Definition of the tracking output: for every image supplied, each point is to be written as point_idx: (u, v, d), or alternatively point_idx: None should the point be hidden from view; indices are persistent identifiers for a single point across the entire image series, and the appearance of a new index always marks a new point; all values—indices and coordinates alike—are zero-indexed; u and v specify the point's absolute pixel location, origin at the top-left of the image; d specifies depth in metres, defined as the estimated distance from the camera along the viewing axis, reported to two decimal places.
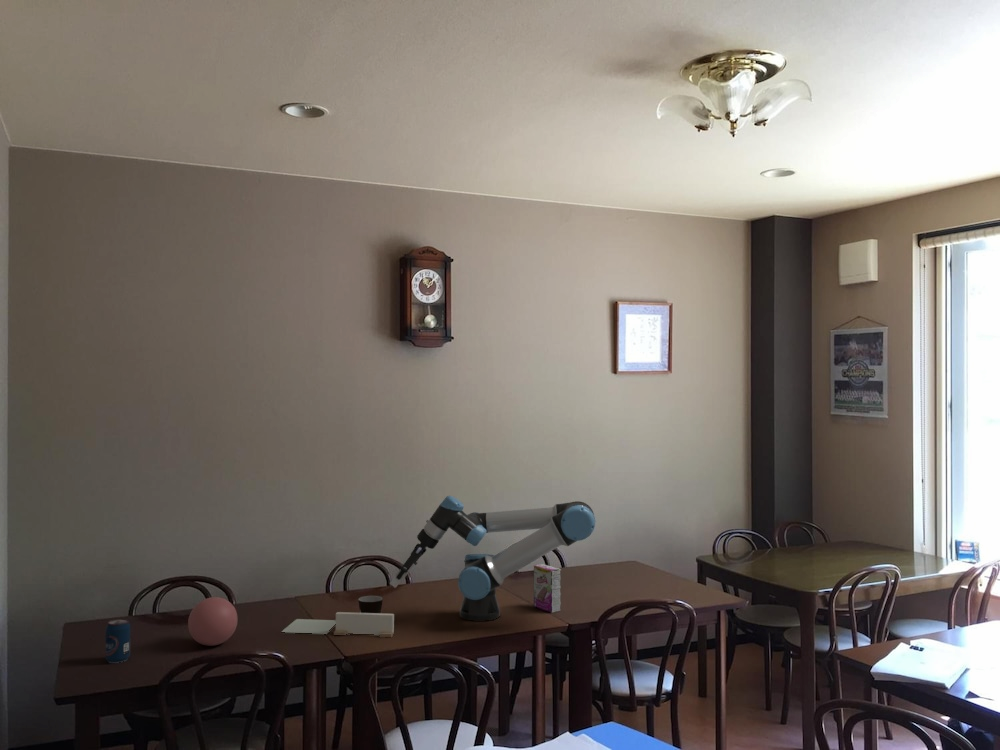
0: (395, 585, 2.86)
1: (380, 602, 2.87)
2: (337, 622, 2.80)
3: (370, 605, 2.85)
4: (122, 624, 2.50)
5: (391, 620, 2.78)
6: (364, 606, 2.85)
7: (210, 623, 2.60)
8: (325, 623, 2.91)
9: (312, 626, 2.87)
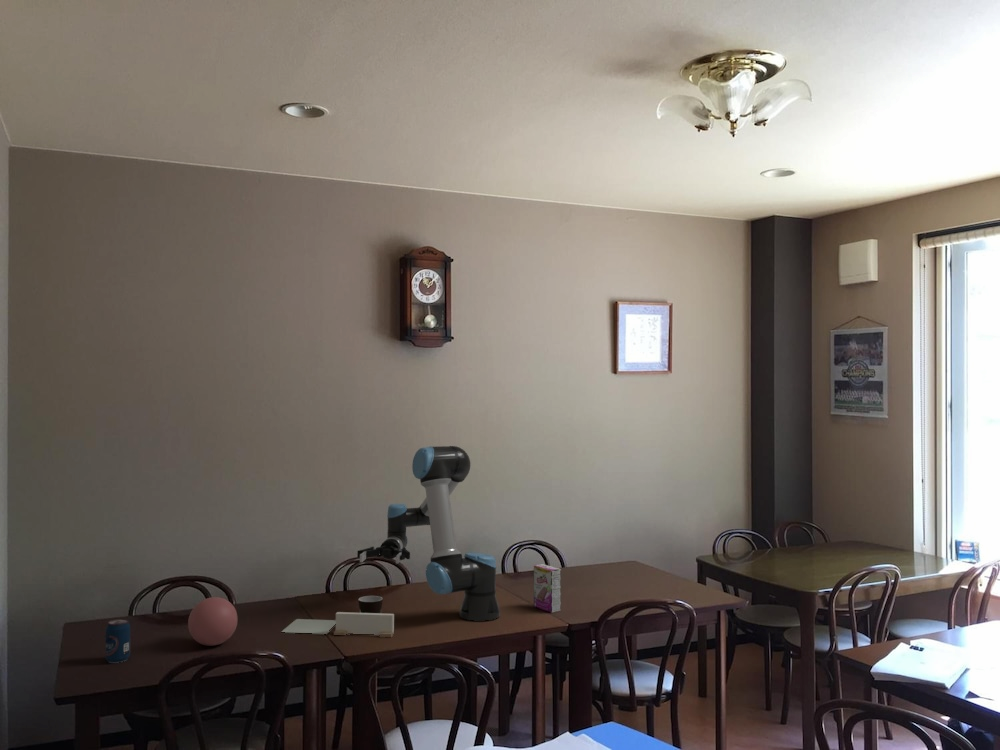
0: None
1: (380, 602, 2.87)
2: (337, 622, 2.80)
3: (370, 605, 2.85)
4: (122, 624, 2.50)
5: (391, 620, 2.78)
6: (364, 606, 2.85)
7: (210, 623, 2.60)
8: (325, 623, 2.91)
9: (312, 626, 2.87)
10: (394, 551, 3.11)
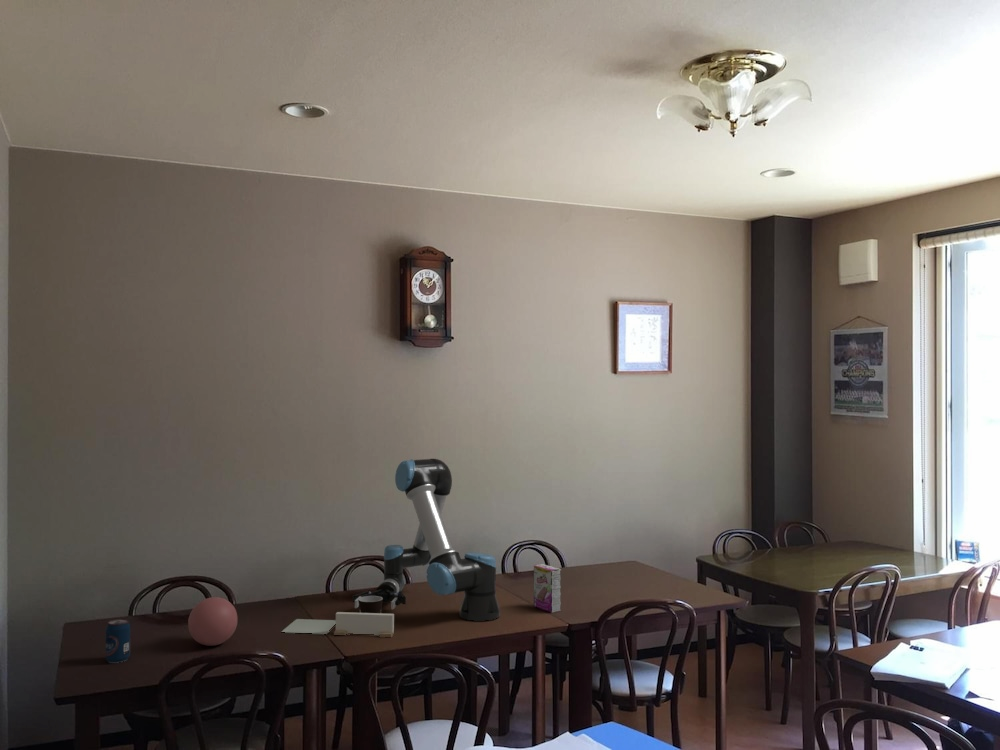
0: None
1: (380, 602, 2.87)
2: (337, 622, 2.80)
3: (370, 605, 2.85)
4: (122, 624, 2.50)
5: (391, 620, 2.78)
6: (364, 606, 2.85)
7: (210, 623, 2.60)
8: (325, 623, 2.91)
9: (312, 626, 2.87)
10: (390, 595, 3.07)
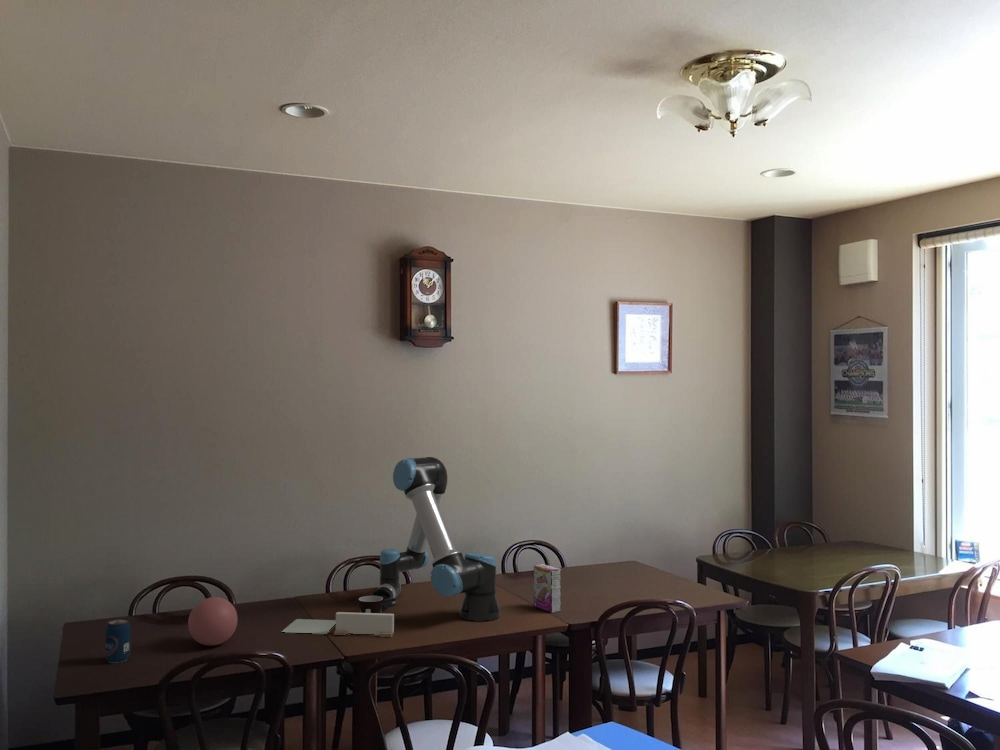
0: None
1: (380, 602, 2.87)
2: (337, 622, 2.80)
3: (370, 605, 2.85)
4: (122, 624, 2.50)
5: (391, 620, 2.78)
6: (365, 606, 2.85)
7: (210, 623, 2.60)
8: (325, 623, 2.91)
9: (312, 626, 2.87)
10: None
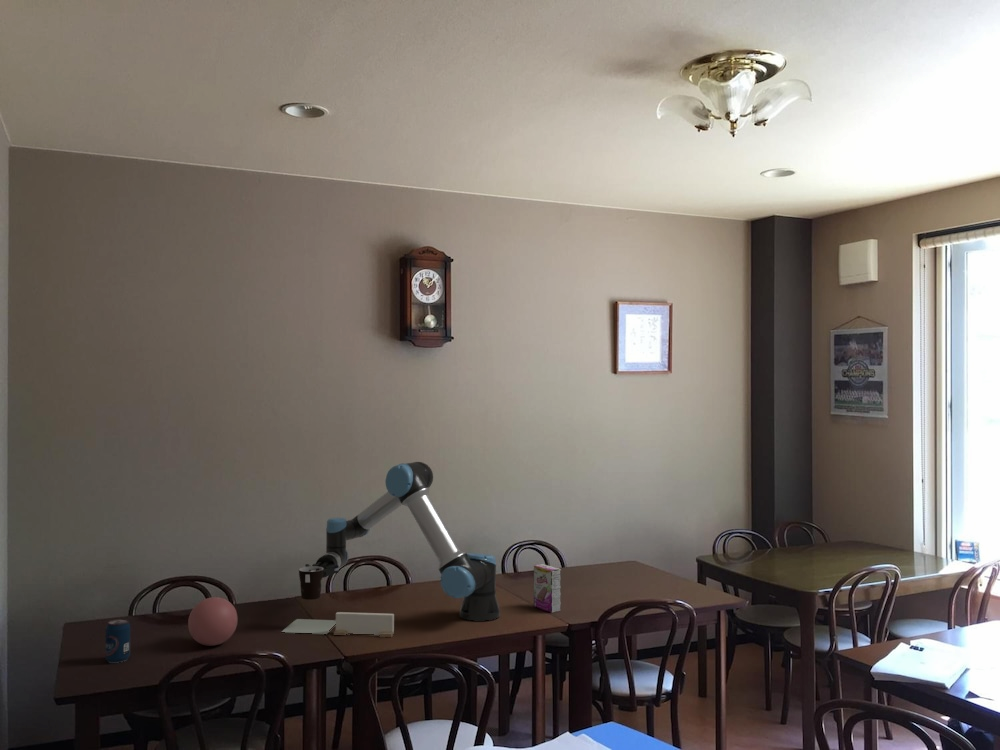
0: None
1: (320, 572, 2.86)
2: (337, 622, 2.80)
3: (310, 575, 2.83)
4: (122, 624, 2.50)
5: (391, 620, 2.78)
6: (304, 576, 2.84)
7: (210, 623, 2.60)
8: (325, 623, 2.91)
9: (312, 626, 2.87)
10: None
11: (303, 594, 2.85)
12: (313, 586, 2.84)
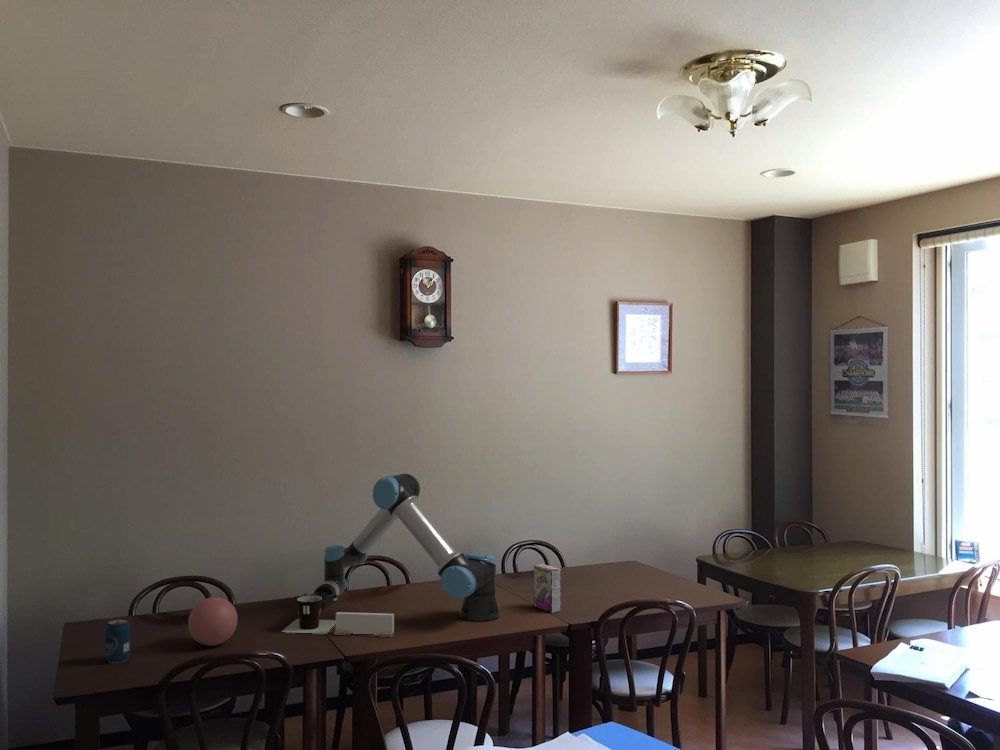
0: None
1: (319, 602, 2.85)
2: (337, 622, 2.80)
3: (308, 605, 2.83)
4: (122, 624, 2.50)
5: (391, 620, 2.78)
6: (302, 606, 2.83)
7: (210, 623, 2.60)
8: (325, 623, 2.91)
9: None
10: None
11: (301, 624, 2.84)
12: (311, 616, 2.84)
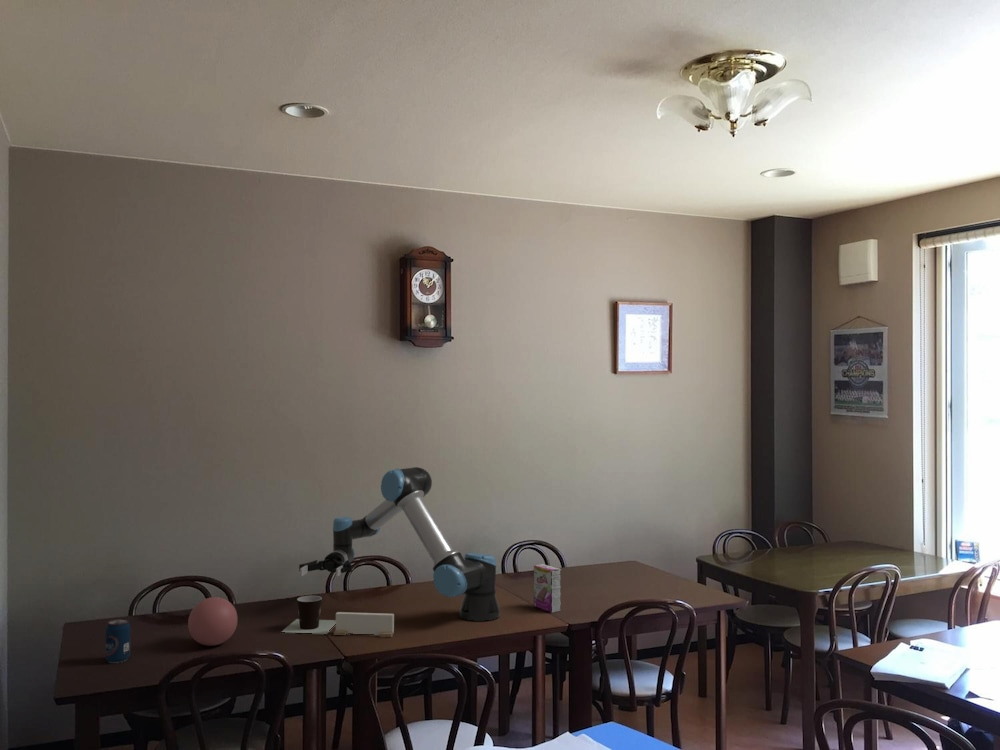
0: None
1: (319, 602, 2.85)
2: (337, 622, 2.80)
3: (308, 605, 2.83)
4: (122, 624, 2.50)
5: (391, 620, 2.78)
6: (302, 606, 2.83)
7: (210, 623, 2.60)
8: (325, 623, 2.91)
9: None
10: (336, 564, 3.09)
11: (301, 624, 2.84)
12: (311, 616, 2.84)
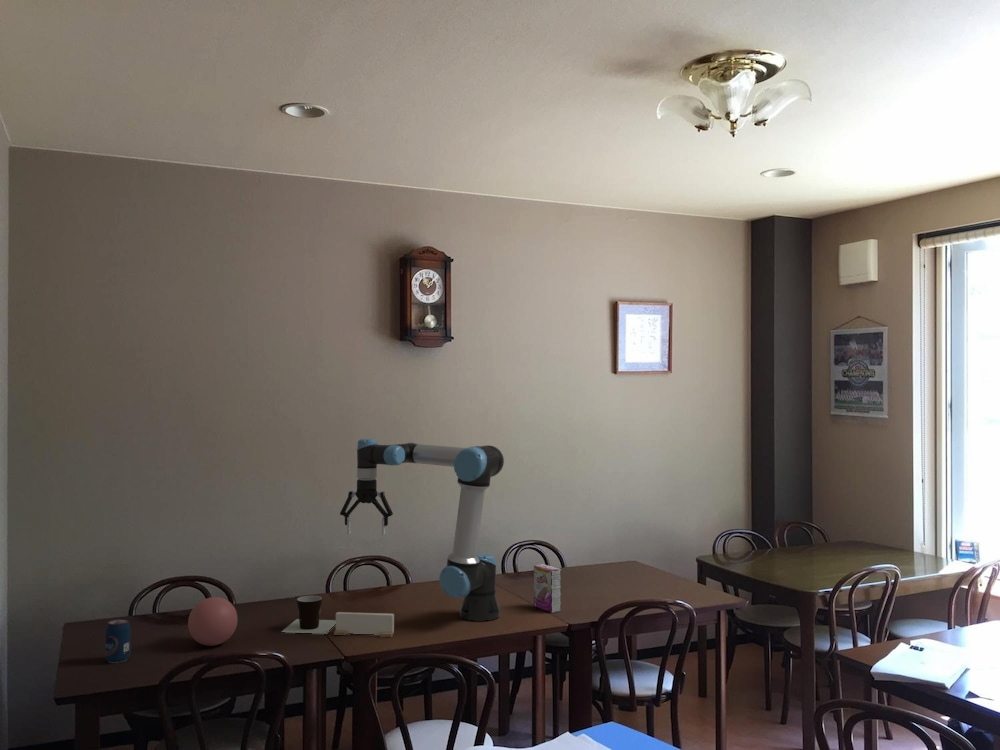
0: None
1: (319, 602, 2.85)
2: (337, 622, 2.80)
3: (308, 605, 2.83)
4: (122, 624, 2.50)
5: (391, 620, 2.78)
6: (302, 606, 2.83)
7: (210, 623, 2.60)
8: (325, 623, 2.91)
9: None
10: None
11: (301, 624, 2.84)
12: (311, 616, 2.84)
